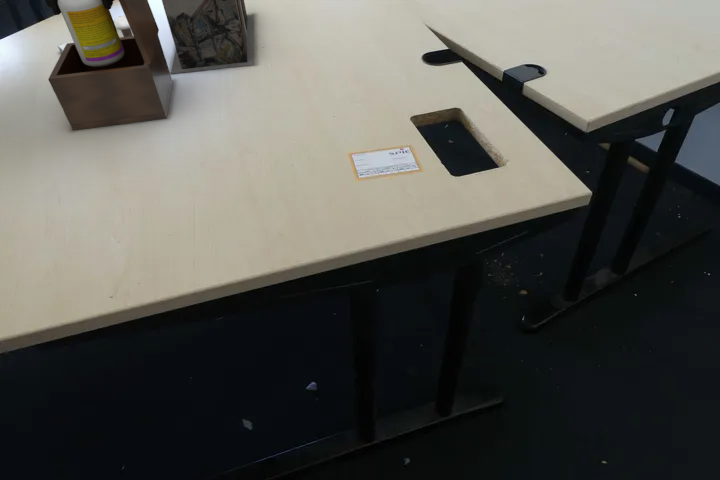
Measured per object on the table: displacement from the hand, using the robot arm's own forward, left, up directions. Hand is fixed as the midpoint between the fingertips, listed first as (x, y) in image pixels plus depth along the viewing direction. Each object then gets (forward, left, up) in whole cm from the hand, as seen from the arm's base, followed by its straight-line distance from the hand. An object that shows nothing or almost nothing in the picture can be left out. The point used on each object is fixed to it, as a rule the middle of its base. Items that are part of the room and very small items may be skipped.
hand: (84, 7), depth 80 cm
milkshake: (+1, +15, -17) cm, 22 cm away
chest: (0, 0, -16) cm, 16 cm away
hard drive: (-9, +25, -17) cm, 31 cm away
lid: (+7, 0, +1) cm, 7 cm away
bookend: (+15, +22, -17) cm, 32 cm away
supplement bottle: (0, 0, -8) cm, 8 cm away
